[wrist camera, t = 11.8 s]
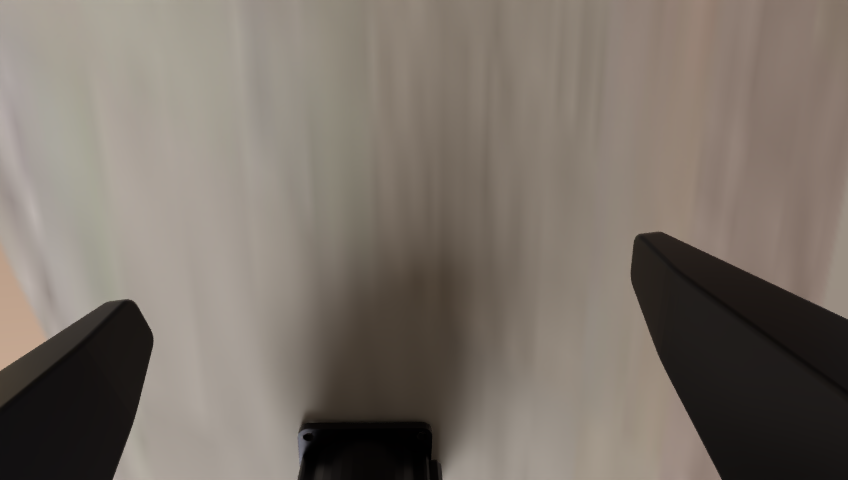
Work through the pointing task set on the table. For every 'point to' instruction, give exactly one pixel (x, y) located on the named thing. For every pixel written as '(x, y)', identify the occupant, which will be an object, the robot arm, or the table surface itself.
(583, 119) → the table surface
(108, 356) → the robot arm
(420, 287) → the table surface
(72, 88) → the table surface
